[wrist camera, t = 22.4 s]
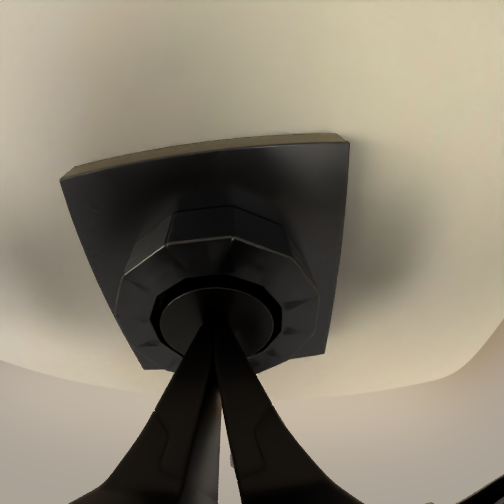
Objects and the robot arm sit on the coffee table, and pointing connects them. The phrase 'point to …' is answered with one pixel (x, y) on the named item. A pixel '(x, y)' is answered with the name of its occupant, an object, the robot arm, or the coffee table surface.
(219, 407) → the robot arm
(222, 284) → the plunger
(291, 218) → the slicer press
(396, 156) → the coffee table surface
